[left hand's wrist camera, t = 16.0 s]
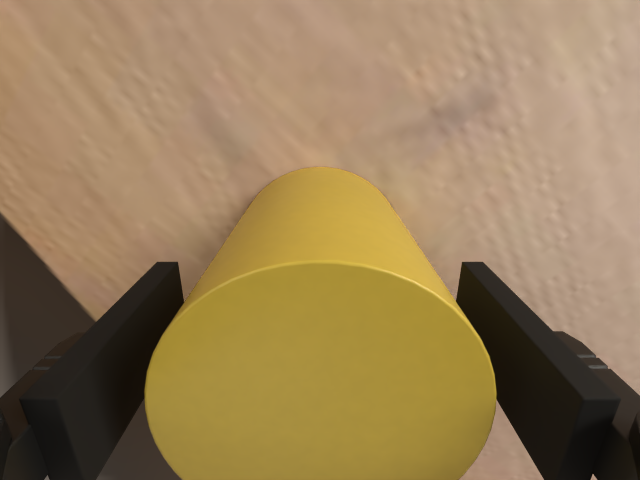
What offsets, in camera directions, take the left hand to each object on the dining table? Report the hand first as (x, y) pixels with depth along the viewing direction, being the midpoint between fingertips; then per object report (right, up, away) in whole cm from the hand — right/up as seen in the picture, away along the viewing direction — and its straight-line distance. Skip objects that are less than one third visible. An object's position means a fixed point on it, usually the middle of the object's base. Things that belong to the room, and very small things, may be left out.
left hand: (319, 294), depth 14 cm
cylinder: (0, +2, +4) cm, 5 cm away
